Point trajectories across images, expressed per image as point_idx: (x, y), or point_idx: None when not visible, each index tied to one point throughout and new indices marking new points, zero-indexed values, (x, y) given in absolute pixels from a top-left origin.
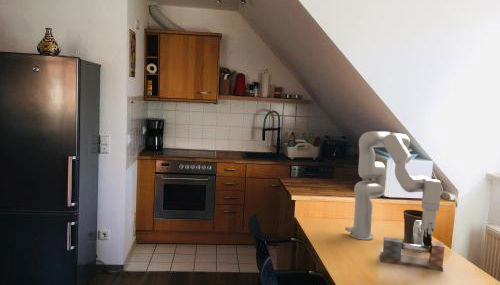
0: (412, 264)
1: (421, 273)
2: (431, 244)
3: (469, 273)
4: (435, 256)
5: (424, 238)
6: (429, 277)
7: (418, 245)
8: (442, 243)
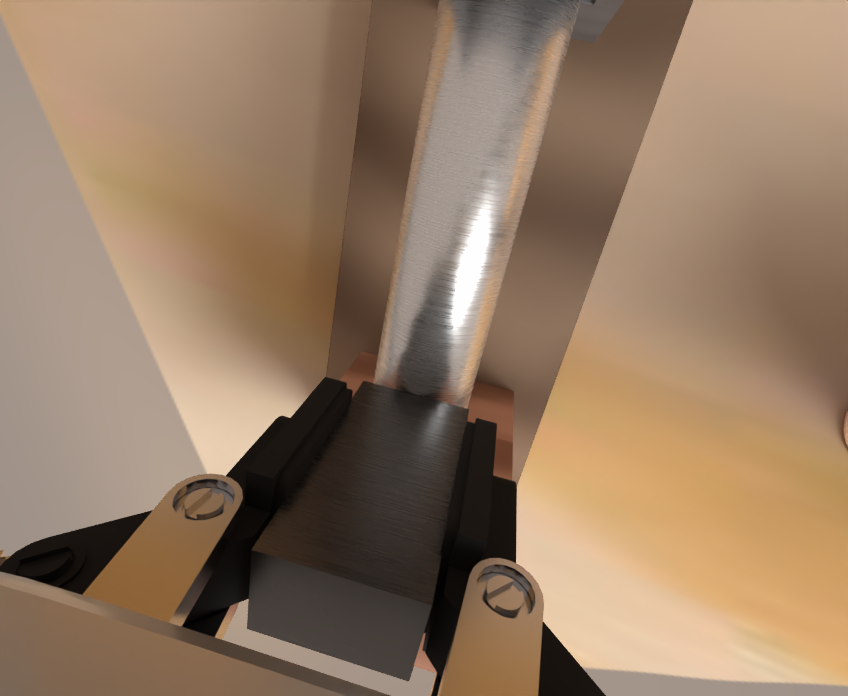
0: (356, 159)
1: (222, 206)
2: None
3: None
4: None
5: (268, 452)
6: (160, 253)
7: (424, 306)
8: None
